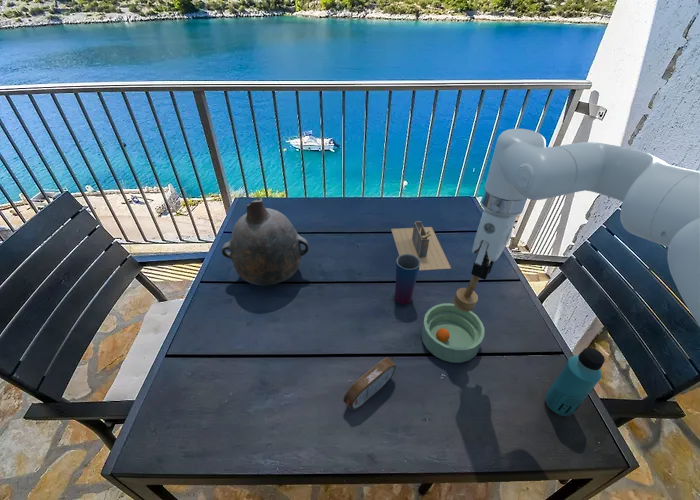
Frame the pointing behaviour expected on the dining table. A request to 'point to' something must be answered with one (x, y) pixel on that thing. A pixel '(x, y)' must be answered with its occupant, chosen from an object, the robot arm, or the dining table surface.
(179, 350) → the dining table surface
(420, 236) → the ruin model on sheet
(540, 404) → the dining table surface
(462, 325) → the bowl
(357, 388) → the tin
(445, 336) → the ball
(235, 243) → the jug
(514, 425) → the dining table surface
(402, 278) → the cup
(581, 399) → the beverage bottle
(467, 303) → the wooden pestle
